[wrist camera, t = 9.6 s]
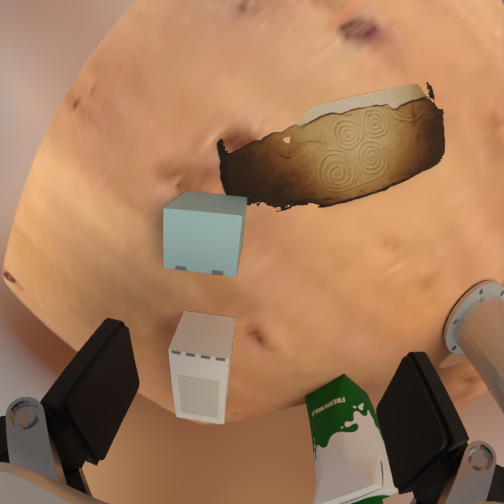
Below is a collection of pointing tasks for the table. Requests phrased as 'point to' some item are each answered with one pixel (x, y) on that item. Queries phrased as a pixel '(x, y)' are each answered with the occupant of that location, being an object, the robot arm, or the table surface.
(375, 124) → the parchment
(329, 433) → the milk carton
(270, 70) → the table surface
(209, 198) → the stub
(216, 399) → the block
